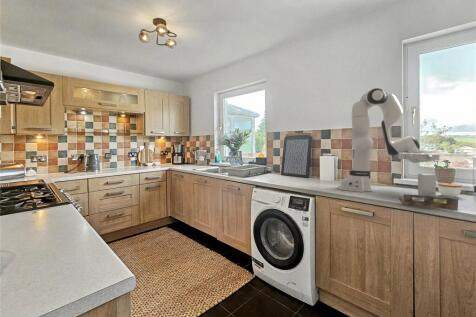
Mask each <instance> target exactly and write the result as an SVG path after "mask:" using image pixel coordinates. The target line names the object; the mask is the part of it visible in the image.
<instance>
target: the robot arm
mask: <svg viewBox="0 0 476 317" xmlns="http://www.w3.org/2000/svg"><path fill="white" fill-rule="evenodd" d="M375 106H377V107H379V108H380V110H381V112H382V114H383V119H382V121H381V122H380V123H381V124H380V125H381V131H382V135H383V141H384V146H385V147H384V148H385V152H386V153H387V155H389V156H392V157H395V156H396V157H397V158H398V160H406V161H407V162H409V163H410V162H411V163H412V164H418V163H425V162H427V163H428V162H429V163H430V162H433V161H434V162H436V161H439V160H440V154H439V153H437V152H433V151H429V150H427V151H426V150H422V149H420V147H421V146H420V144H419V141H418V140H417V138H415V137H414V136H413V135H408V136H404V137H401V138H399V139H395V140H392V138H391V137H392V136H391V133H390V132H391V131H390V130H391V128H392V126H394V125H395V124H396V123H397V122H399V121H400V120H401V118H402V117H403V114H404V111H403V108H402V105H401V103H400V101H399V100H398V98H397V97H396V96H395V94H392V93H387V92H386V91H385V90H383V89H382V88H379V87H376V88H372V89H371V90H369V91H367V92H366V93H364V94H363V95H362V96H361V98H360V99H359V101H356V102H354V103H353V104H352V107H351V147H352V149H353V150H354V151H353V156H352V170H350V169H349V170H348V173H349V174H348V175H347V176H346V177H345V178H342V180H341V182H340V185H337V189H338V190H342V191H349V192H350V191H351V192H357V193H358V192H359V193H363V192H365V193H366V192H372V191H373V190H372V186H371V185H372V184H371V177H372V176H371V157H372V151H373V147H374V140H373V139H372V138H371V137H370V136H369V135H370V134H369V132H370V128H371V127H370V126H371V125H370V109H371V108H372V107H375Z"/></svg>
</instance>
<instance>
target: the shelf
mask: <svg viewBox="0 0 476 317" xmlns="http://www.w3.org/2000/svg"><path fill="white" fill-rule="evenodd" d="M398 199H399V200H400V202H402V204H403V205H405V206H407V205H408V206H416V207H417V206H418V207H426V206H429V207H428V208H437V207H440V209H447V208H448V209H449V210H450V209H451V210H459V198H458V197H454V198H452V197H444V196H437V195H436V196H423V195H418V194H409V193H408V194H407V193H404V194H403V196H399V197H398Z"/></svg>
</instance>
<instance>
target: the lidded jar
mask: <svg viewBox="0 0 476 317" xmlns="http://www.w3.org/2000/svg"><path fill="white" fill-rule="evenodd" d="M437 183H438V184H437V185H438V187H437V188H438V192H439V193H440V195H441V197H449V198H457V197H458V196H459V195H460V194H461V192H462V184H459V183H452V181H448V182H437Z"/></svg>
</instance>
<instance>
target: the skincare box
mask: <svg viewBox="0 0 476 317" xmlns="http://www.w3.org/2000/svg"><path fill="white" fill-rule="evenodd" d="M436 176H437V175H436V174H431V173H417V195H423V196H436V197H437V192H436V191H437V184H436V182H437V180H436V179H437V177H436Z"/></svg>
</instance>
